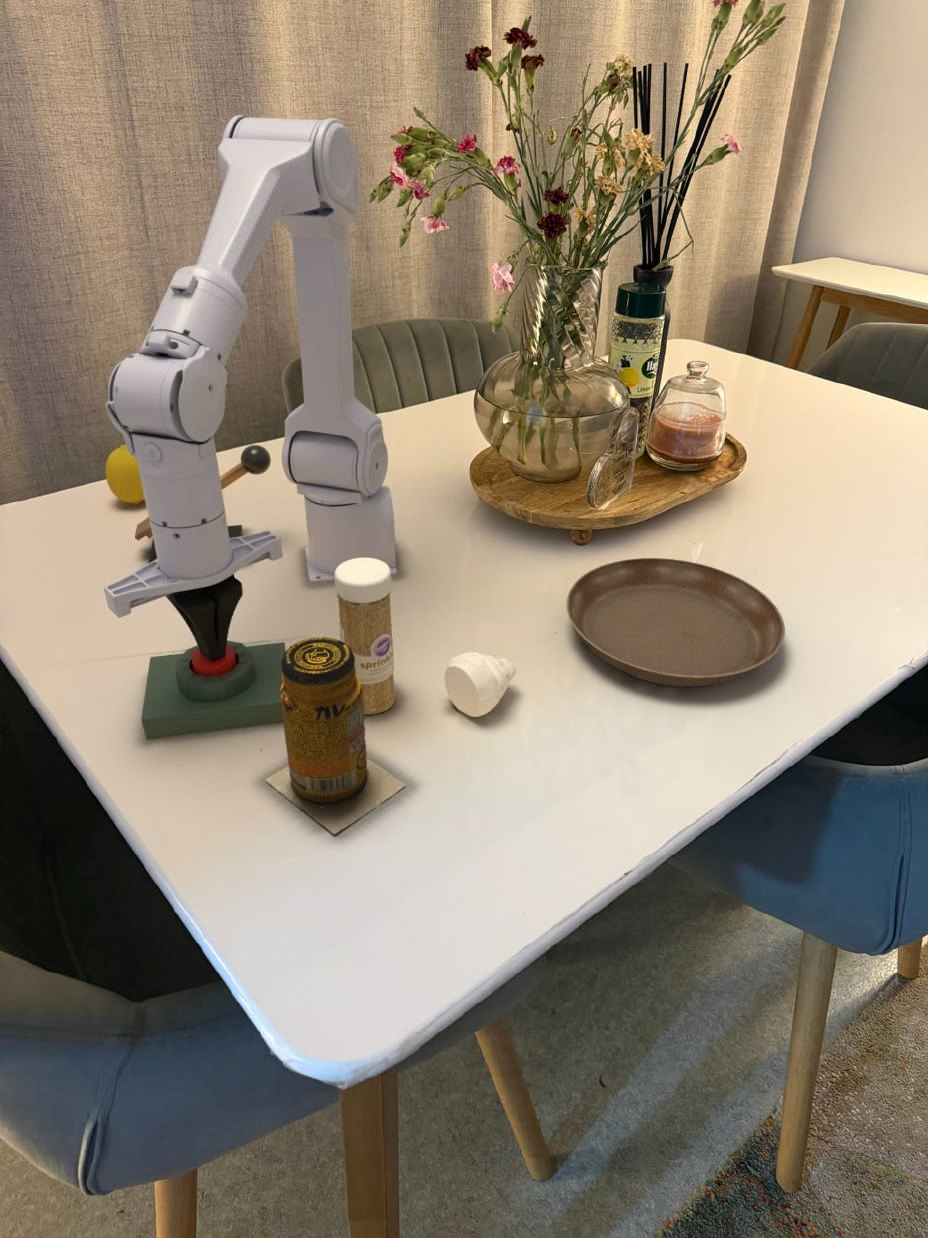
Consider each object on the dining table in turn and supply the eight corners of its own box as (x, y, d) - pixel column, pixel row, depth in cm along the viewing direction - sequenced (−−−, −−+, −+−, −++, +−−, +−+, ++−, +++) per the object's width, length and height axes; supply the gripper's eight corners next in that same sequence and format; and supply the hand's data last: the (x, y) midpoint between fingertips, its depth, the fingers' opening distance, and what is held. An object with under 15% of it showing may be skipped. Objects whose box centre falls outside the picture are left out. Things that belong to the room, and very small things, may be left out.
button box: (287, 661, 84) (282, 625, 81) (291, 721, 76) (286, 684, 74) (154, 676, 81) (146, 640, 79) (146, 739, 74) (136, 702, 72)
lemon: (146, 516, 108) (133, 455, 104) (104, 512, 109) (90, 451, 105) (167, 497, 113) (156, 438, 109) (127, 493, 114) (114, 434, 110)
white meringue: (531, 700, 79) (534, 649, 76) (482, 730, 75) (484, 678, 72) (487, 673, 82) (489, 624, 79) (439, 700, 79) (439, 650, 76)
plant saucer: (825, 662, 84) (833, 633, 82) (655, 730, 75) (660, 699, 74) (680, 567, 99) (684, 540, 97) (524, 615, 90) (525, 587, 89)
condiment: (336, 738, 74) (324, 618, 68) (406, 787, 70) (401, 663, 63) (265, 782, 70) (245, 658, 63) (334, 837, 65) (320, 710, 58)
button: (237, 656, 79) (234, 640, 78) (237, 680, 76) (234, 664, 75) (195, 661, 78) (192, 645, 77) (193, 685, 75) (190, 669, 74)
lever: (276, 457, 99) (258, 434, 97) (277, 468, 96) (258, 445, 94) (152, 540, 101) (132, 519, 99) (150, 553, 98) (129, 532, 97)
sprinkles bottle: (377, 723, 76) (369, 588, 69) (334, 706, 78) (322, 574, 71) (406, 694, 79) (401, 563, 72) (364, 679, 81) (355, 550, 74)
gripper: (243, 470, 75) (262, 605, 83) (74, 521, 67) (111, 666, 75) (288, 498, 71) (304, 638, 78) (112, 555, 63) (148, 706, 70)
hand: (213, 654), depth 76 cm, fingers closed, pressing on button
